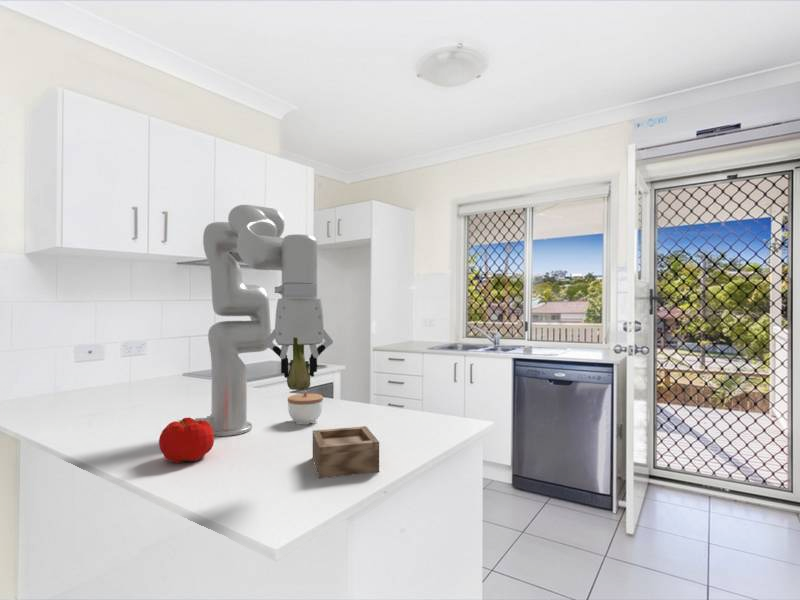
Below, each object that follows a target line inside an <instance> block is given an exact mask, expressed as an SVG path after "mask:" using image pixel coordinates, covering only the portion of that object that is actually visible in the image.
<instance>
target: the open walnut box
mask: <svg viewBox="0 0 800 600" xmlns="http://www.w3.org/2000/svg"><path fill="white" fill-rule="evenodd" d="M312 460H313V461H312V462H313V463H315V464H314V466H316V467H315V469H317V470H316V473H317V472H318V473H317V475H319V476H318V478H319V479H325V478H324V477H328V478H334V477H333V476H336V477H343V476H342V475H345V476H353V475H352V474H354V475H362V474H368V473H369V474H370V473H377V472H380V440H378V439H377V437H376V436H375V435H374V434H373V433H372V432H371V431H370V429H369V428H368V426H366V425H364V426H356V427H355V426H353V427H343V428H329V429H327V428H326V429H317V430H312Z"/></svg>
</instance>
